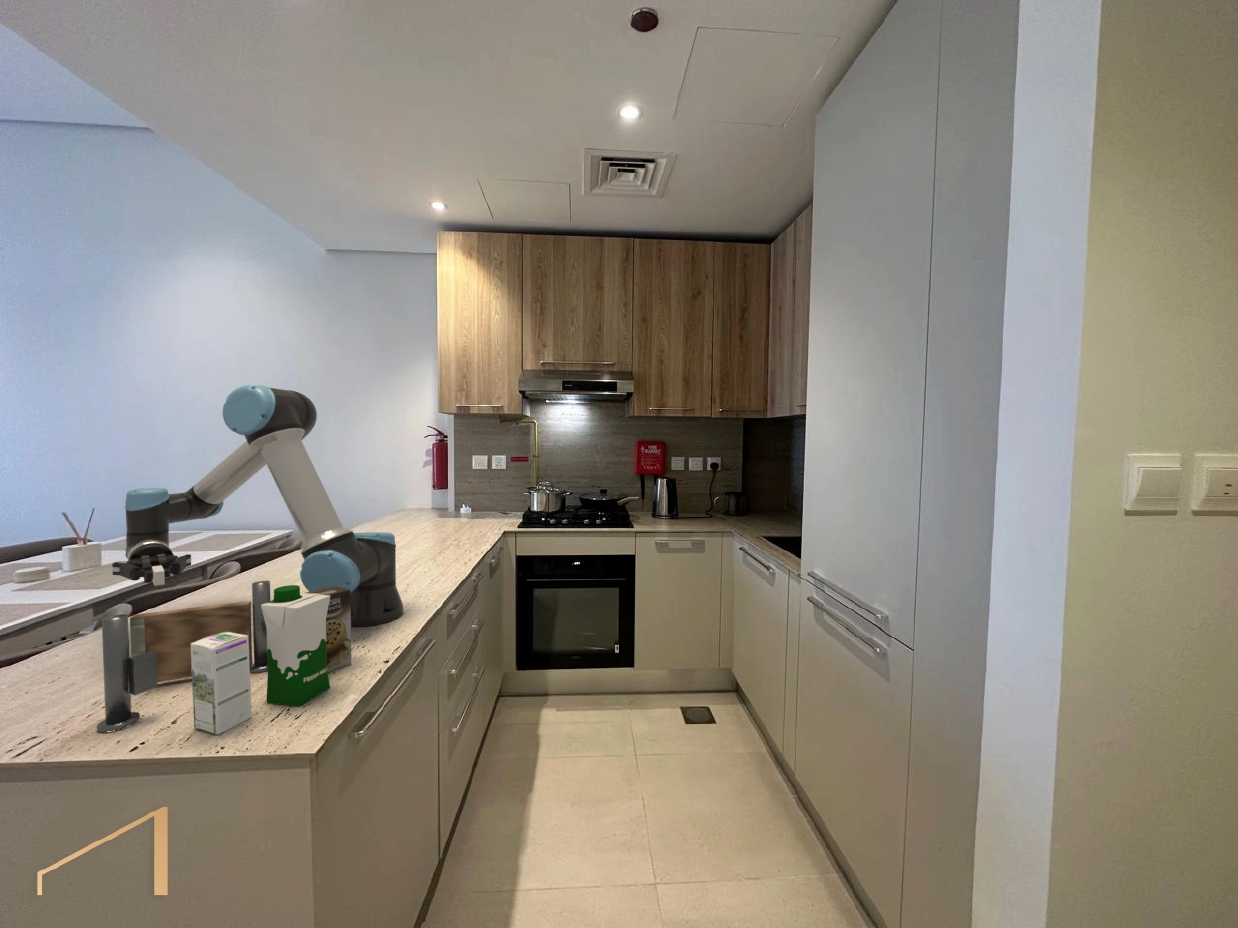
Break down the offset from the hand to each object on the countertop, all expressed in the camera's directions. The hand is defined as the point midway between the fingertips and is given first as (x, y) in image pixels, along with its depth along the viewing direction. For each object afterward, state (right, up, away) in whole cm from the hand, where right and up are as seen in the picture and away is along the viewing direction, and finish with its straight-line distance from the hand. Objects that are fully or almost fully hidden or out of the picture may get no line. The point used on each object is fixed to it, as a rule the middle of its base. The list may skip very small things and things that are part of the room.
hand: (159, 578), depth 97 cm
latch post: (+9, -21, -16) cm, 27 cm away
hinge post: (+17, -20, +5) cm, 27 cm away
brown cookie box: (+30, -20, +4) cm, 36 cm away
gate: (+8, -19, 0) cm, 20 cm away
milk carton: (+32, -20, -7) cm, 39 cm away
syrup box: (+26, -21, -16) cm, 37 cm away
